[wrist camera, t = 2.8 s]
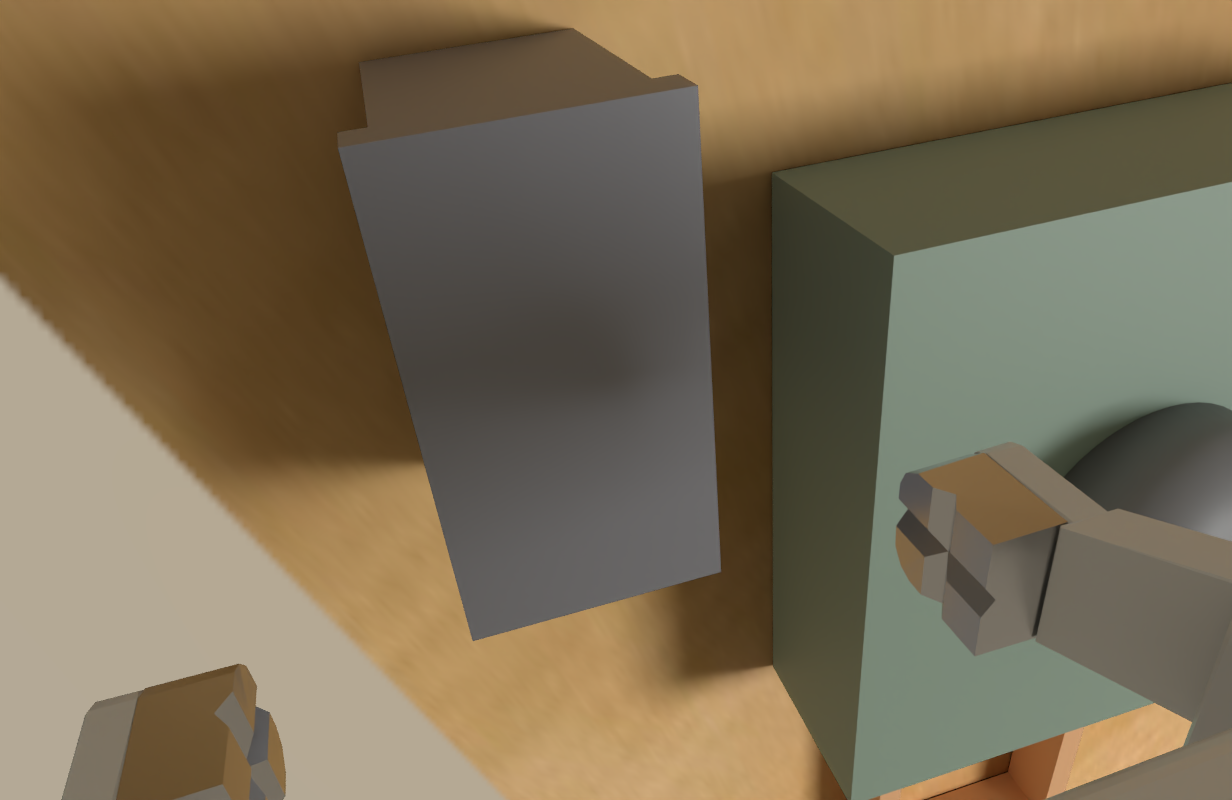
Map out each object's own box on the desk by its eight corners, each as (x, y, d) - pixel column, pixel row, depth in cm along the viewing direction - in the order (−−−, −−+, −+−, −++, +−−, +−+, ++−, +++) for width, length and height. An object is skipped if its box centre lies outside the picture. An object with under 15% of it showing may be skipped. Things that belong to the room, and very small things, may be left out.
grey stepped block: (592, 24, 17) (698, 85, 12) (634, 415, 21) (720, 571, 17) (336, 64, 16) (337, 147, 11) (440, 462, 21) (472, 641, 16)
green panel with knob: (1299, 69, 21) (1656, 142, 16) (1085, 756, 36) (1228, 923, 30) (771, 172, 19) (964, 304, 13) (773, 863, 34) (864, 1068, 28)
